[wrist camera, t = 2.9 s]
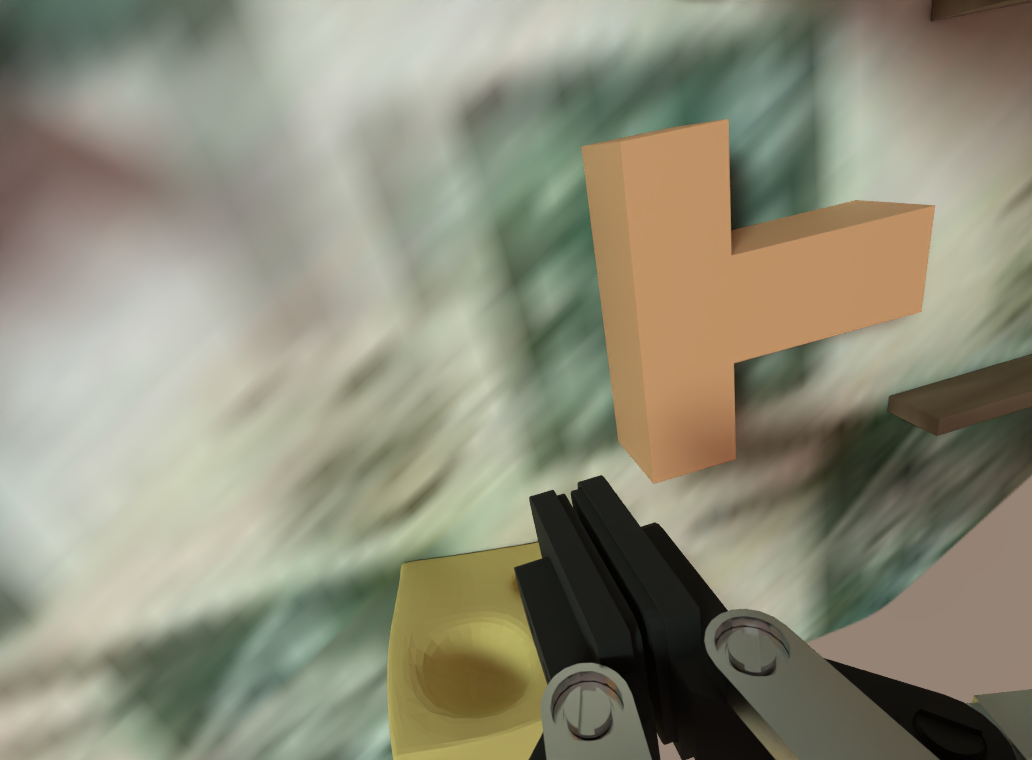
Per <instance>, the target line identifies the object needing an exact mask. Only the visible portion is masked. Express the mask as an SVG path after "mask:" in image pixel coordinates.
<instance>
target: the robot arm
mask: <svg viewBox="0 0 1032 760" xmlns="http://www.w3.org/2000/svg"><path fill="white" fill-rule="evenodd" d="M571 499H572V504H573V507H572V505H571V504H570V502H569V500H568V498H567V496H566V495H565V494H561V495H556V493H555V491H554V490H551V491H547V492H544V493H541V494H537V495H534V496H531V497H529V500H530V505H531V510H532V515H533V519H534V524H535V528H536V533H537V537H538V542H539V547H540V551H541V556H542V559H538V560H535V561H532V562H529V563H526V564H523V565H520V566H517V567H514V572H515V576H516V580H517V584H518V588H519V592H520V596H521V600H522V604H523V607H524V611H525V614H526V618H527V621H528V625H529V628H530V631H531V635H532V638H533V641H534V644H535V647H536V650H537V654H538V657H539V660H540V663H541V666H542V669H543V673H544V676H545V679H546V682H547V686H546V688H545V691H544V694H543V697H542V699H541V718H542V726H543V733H542V735H541V737H540V739H539V741H538V743H537V745H536V746H535V748H534V750H533V752H532V754H531V756H530V758H529V760H660V754H659V746H658V739H657V734H658V736H659V737H660V739H661V741H662V743H663V744H664V745H666V744H669V743H671V742H673V743H674V745H675V747H676V749H677V751H678V753H679V755H680V757H681V759H682V760H686V759H689V758H692V757H694V758H695V760H1032V689H1029V690H1021V691H1012V692H1001V693H992V694H983V695H974V697H973V701H972V703H966V704H965V703H964V702H961V701H959V700H956V699H953V698H951V697H949V696H946V695H944V694H940V693H937V692H934V691H930V690H927V689H924V688H921V687H917V686H914V685H911V684H907V683H904V682H901V681H898V680H894V679H891V678H888V677H884V676H881V675H878V674H874V673H871V672H868V671H865V670H861V669H858V668H855V667H851V666H848V665H844V664H841V663H838V662H835V661H832V660H828V659H825V658H823V657H821V656H820V655H819V654H818V653H817V652H816V651H815V650H814V649H812V648H811V647H810V646H809V645H808V644H807V643H806V642H804V641H803V640H802V639H801V638H800V637H799V636H798V635H796V634H795V633H794V632H793V631H792V630H791V629H790V628H788V627H787V626H786V625H785V624H783V623H782V622H780V621H779V620H777V619H776V618H775V617H773V616H770V615H768V614H765V613H763V612H760V611H755V610H749V609H737V610H730V611H728V610H727V609H726V608H725V606H724V605H723V604H722V603H721V601H720V600H719V599H718V598H717V596H716V595H715V594H714V593H713V591H712V590H711V589H710V587H709V586H708V585H707V584H706V582H705V581H704V580H703V579H702V577H701V576H700V575H699V574H698V572H697V571H696V570H695V569H694V567H693V566H692V565H691V564H690V562H689V561H688V560H687V558H686V557H685V556H684V555H683V553H682V552H681V551H680V550H679V548H678V547H677V546H676V545H675V543H674V542H673V541H672V540H671V538H670V537H669V536H668V534H667V533H666V532H665V531H664V529H663V528H662V527H661V526H660V525H659V524H657V523H652V524H648V525H645V526H642V527H640V526H639V524H638V523H637V521H636V520H635V519H634V517H633V516H632V515H631V513H630V512H629V510H628V509H627V508H626V506H625V505H624V504H623V502H622V501H621V500H620V498H619V497H618V495H617V494H616V493H615V491H614V490H613V489H612V487H611V486H610V485H609V483H608V482H607V480H606V479H605V478H604V477H603V476H602V475H600V476H597V477H594V478H590V479H587V480H584V481H580V482H578V489H577V490H574V491H571Z"/></svg>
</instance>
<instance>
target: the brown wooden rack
mask: <svg viewBox="0 0 1032 760" xmlns="http://www.w3.org/2000/svg"><path fill="white" fill-rule="evenodd" d="M1027 2H1032V0H933V6H932V15H931V21H935V20H940V19H945V18H950V17H956V16H961V15H966V14H971V13H976V12H981V11H986V10H991V9H996V8H1002V7H1007V6H1012V5H1017V4H1022V3H1027ZM1029 407H1032V354H1031V355H1027V356H1024V357H1021V358H1017V359H1014V360H1010V361H1007V362H1004V363H1000V364H997V365H993V366H990V367H987V368H983V369H980V370H976V371H973V372H970V373H966V374H963V375H960V376H956V377H953V378H949V379H946V380H943V381H939V382H936V383H932V384H929V385H926V386H922V387H919V388H915V389H912V390H909V391H905V392H902V393H898V394H895V395H892V396H889V404H888V412H889V413H891V414H893V415H895V416H897V417H899V418H901V419H904V420H906V421H908V422H910V423H912V424H914V425H916V426H918V427H920V428H922V429H924V430H926V431H928V432H930V433H932V434H934V435H936V436H938V435H941V434H945V433H948V432H951V431H954V430H957V429H961V428H964V427H967V426H970V425H974V424H977V423H980V422H983V421H987V420H990V419H993V418H996V417H999V416H1003V415H1006V414H1009V413H1012V412H1016V411H1019V410H1022V409H1025V408H1029Z"/></svg>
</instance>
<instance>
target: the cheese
mask: <svg viewBox="0 0 1032 760" xmlns="http://www.w3.org/2000/svg"><path fill="white" fill-rule="evenodd" d="M538 559H542V556H541V551H540V547H539V542H536V543H532V544H527V545H521V546H515V547H508V548H500V549H494V550H489V551H483V552H476V553H470V554H463V555H456V556H448V557H441V558H433V559H426V560H418V561H412V562H407V563H404V564H402V566H401V575H400V583H399V588H398V594H397V599H396V604H395V610H394V615H393V621H392V626H391V633H390V641H389V650H388V667H387V693H388V714H389V727H390V738H391V746H392V754H393V760H529V758H530V756H531V754H532V752H533V750H534V748H535V746H536V745H537V743H538V741H539V739H540V737H541V735H542V733H543V726H542V718H541V699H542V697H543V694H544V691H545V688H546V686H547V682H546V679H545V676H544V673H543V669H542V666H541V663H540V660H539V657H538V654H537V650H536V647H535V644H534V641H533V638H532V635H531V631H530V628H529V625H528V621H527V618H526V614H525V611H524V607H523V604H522V600H521V596H520V592H519V588H518V584H517V580H516V576H515V572H514V567H517V566H520V565H523V564H526V563H529V562H532V561H535V560H538Z"/></svg>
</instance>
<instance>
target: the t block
mask: <svg viewBox="0 0 1032 760" xmlns="http://www.w3.org/2000/svg"><path fill="white" fill-rule="evenodd" d="M581 147H582V155H583V163H584V171H585V178H586V186H587V194H588V202H589V210H590V218H591V226H592V234H593V242H594V250H595V258H596V266H597V274H598V282H599V290H600V298H601V306H602V314H603V322H604V330H605V338H606V346H607V353H608V361H609V369H610V377H611V385H612V393H613V401H614V409H615V417H616V425H617V433H618V441H619V443H620V444H621V445H622V446H623V448H624V449H625V450H626V451H627V452H628V454H629V455H630V456H631V457H632V458H633V460H634V461H635V462H636V463H637V464H638V466H639V467H640V468H641V469H642V470H643V472H644V473H645V474H646V475H647V476H648V478H649V479H650V480H651V481H652V482H653V484H655V483H658V482H661V481H665V480H668V479H672V478H675V477H678V476H682V475H685V474H688V473H692V472H695V471H698V470H702V469H705V468H708V467H712V466H715V465H718V464H722V463H725V462H728V461H732V460H735V459H736V438H735V392H734V363H737V362H740V361H744V360H748V359H751V358H755V357H758V356H762V355H766V354H769V353H773V352H777V351H780V350H784V349H788V348H791V347H795V346H799V345H802V344H806V343H809V342H813V341H817V340H820V339H824V338H828V337H831V336H835V335H839V334H842V333H846V332H850V331H853V330H857V329H861V328H864V327H868V326H871V325H875V324H879V323H882V322H886V321H890V320H893V319H897V318H901V317H904V316H908V315H912V314H915V313H919V312H921V311H922V303H923V295H924V288H925V280H926V272H927V264H928V256H929V249H930V241H931V233H932V225H933V217H934V210H935V205H920V204H905V203H890V202H875V201H860V200H855V201H851V202H847V203H843V204H839V205H834V206H830V207H826V208H822V209H818V210H813V211H809V212H805V213H801V214H797V215H793V216H788V217H784V218H780V219H776V220H772V221H768V222H763V223H759V224H755V225H751V226H747V227H743V228H738V229H734V230H731V209H730V164H729V119H725V120H719V121H712V122H705V123H698V124H692V125H685V126H678V127H672V128H667V129H662V130H658V131H653V132H648V133H643V134H638V135H634V136H629V137H624V138H619V139H615V140H610V141H605V142H600V143H596V144H591V145H586V146H581Z"/></svg>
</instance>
